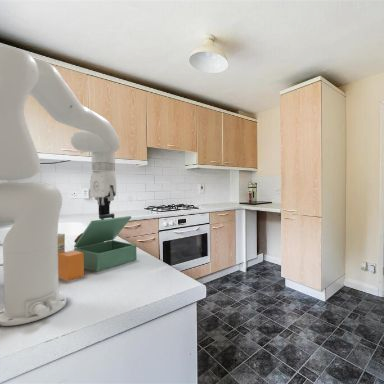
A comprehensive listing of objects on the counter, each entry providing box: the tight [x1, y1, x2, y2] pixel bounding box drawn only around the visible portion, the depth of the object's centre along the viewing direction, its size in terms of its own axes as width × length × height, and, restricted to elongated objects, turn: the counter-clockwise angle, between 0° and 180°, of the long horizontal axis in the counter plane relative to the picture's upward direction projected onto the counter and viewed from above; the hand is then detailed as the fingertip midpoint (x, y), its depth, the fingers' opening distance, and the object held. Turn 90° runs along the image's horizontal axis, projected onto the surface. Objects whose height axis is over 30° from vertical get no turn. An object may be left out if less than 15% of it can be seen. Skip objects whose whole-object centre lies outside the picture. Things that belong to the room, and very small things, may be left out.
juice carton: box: [58, 249, 85, 282], centre depth 76 cm, size 6×4×8 cm
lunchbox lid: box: [73, 213, 132, 249], centre depth 91 cm, size 16×15×4 cm
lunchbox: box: [73, 239, 137, 272], centre depth 90 cm, size 16×15×7 cm
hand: (104, 215), depth 90 cm, fingers closed
